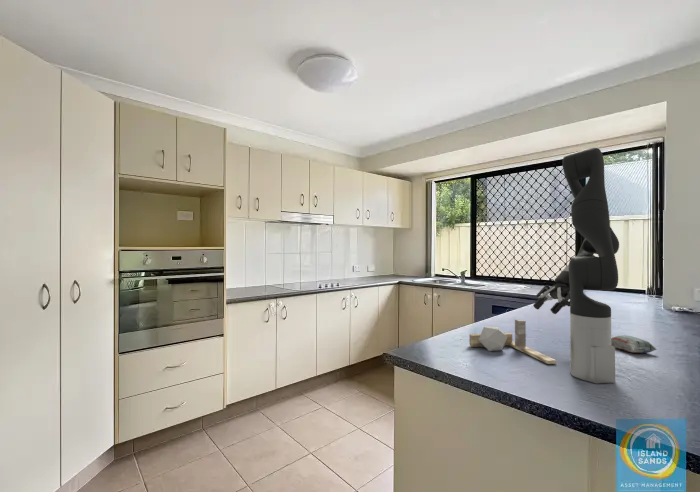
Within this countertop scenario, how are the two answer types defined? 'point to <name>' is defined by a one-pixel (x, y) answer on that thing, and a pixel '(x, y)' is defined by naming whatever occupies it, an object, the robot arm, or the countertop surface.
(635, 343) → the packaged food
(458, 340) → the countertop surface
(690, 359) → the countertop surface
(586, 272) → the robot arm
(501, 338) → the die
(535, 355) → the l-shaped corner bracket
